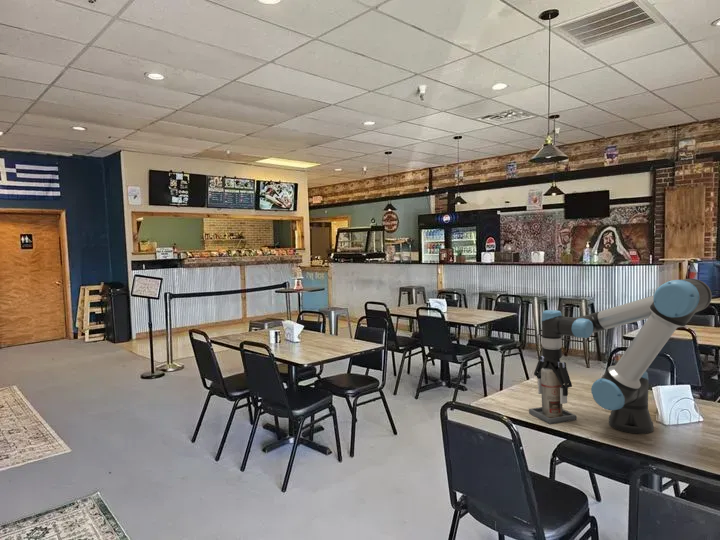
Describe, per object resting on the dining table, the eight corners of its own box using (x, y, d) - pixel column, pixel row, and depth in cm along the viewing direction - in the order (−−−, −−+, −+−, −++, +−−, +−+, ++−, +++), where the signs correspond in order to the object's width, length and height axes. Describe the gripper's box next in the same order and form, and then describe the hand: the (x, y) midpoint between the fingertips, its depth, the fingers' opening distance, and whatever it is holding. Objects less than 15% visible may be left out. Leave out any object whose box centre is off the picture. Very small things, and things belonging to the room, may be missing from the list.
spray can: (539, 416, 192) (539, 369, 191) (542, 410, 199) (541, 364, 198) (562, 419, 188) (561, 371, 187) (563, 413, 195) (563, 366, 194)
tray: (576, 420, 189) (576, 415, 189) (549, 424, 185) (549, 419, 185) (554, 409, 202) (554, 405, 202) (528, 413, 198) (528, 408, 198)
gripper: (581, 352, 181) (581, 406, 182) (539, 341, 205) (540, 388, 206) (565, 354, 179) (566, 408, 180) (525, 342, 203) (525, 390, 204)
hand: (552, 398), depth 193 cm, fingers open, 13 cm apart
